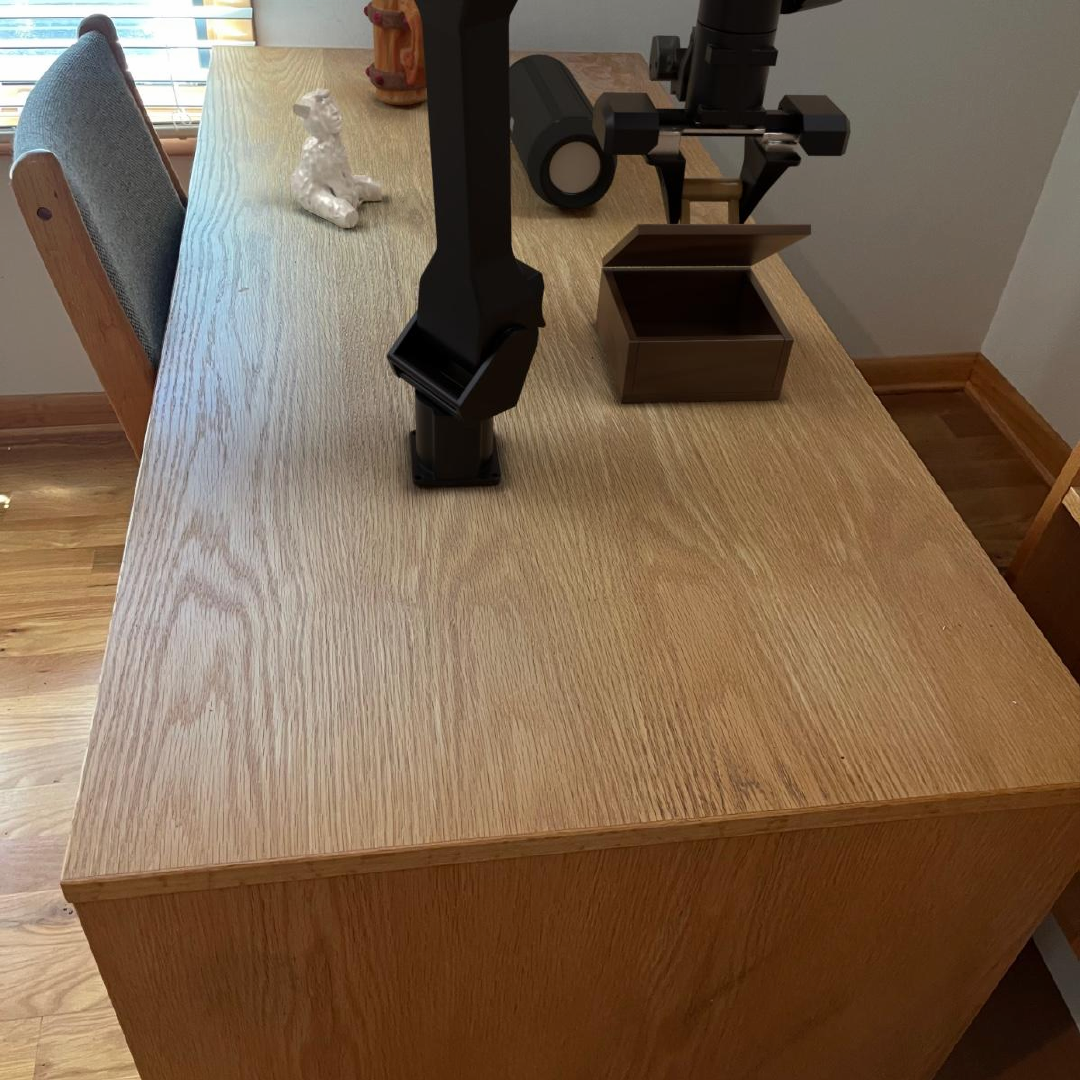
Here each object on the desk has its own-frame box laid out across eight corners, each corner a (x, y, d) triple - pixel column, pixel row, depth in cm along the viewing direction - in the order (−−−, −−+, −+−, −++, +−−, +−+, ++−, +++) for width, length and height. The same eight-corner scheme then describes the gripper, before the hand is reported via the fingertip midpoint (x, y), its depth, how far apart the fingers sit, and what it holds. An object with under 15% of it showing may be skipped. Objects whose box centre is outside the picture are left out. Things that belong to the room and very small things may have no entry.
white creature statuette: (351, 232, 105) (343, 112, 97) (274, 218, 106) (260, 99, 99) (386, 197, 112) (382, 83, 104) (314, 184, 113) (303, 70, 105)
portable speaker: (492, 132, 128) (494, 47, 122) (569, 131, 130) (575, 47, 124) (528, 220, 110) (534, 125, 103) (618, 217, 112) (628, 124, 105)
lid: (811, 234, 78) (811, 164, 78) (637, 234, 76) (636, 163, 76) (751, 266, 92) (750, 206, 91) (602, 267, 90) (600, 206, 89)
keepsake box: (778, 399, 86) (794, 339, 82) (621, 403, 84) (629, 341, 81) (738, 323, 96) (750, 266, 92) (595, 325, 94) (601, 267, 90)
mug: (360, 91, 137) (353, -35, 127) (417, 86, 140) (415, -38, 130) (396, 130, 127) (391, -3, 117) (457, 123, 130) (458, -7, 120)
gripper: (824, -4, 80) (782, 191, 90) (589, -10, 78) (574, 191, 88) (877, 38, 72) (824, 248, 82) (616, 33, 69) (595, 249, 80)
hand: (702, 231), depth 83 cm, fingers closed on lid, 5 cm apart
